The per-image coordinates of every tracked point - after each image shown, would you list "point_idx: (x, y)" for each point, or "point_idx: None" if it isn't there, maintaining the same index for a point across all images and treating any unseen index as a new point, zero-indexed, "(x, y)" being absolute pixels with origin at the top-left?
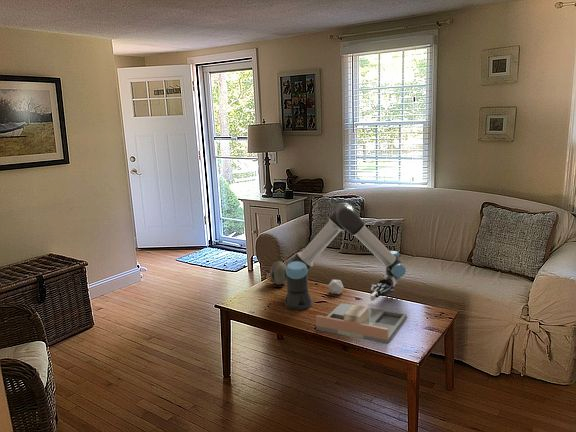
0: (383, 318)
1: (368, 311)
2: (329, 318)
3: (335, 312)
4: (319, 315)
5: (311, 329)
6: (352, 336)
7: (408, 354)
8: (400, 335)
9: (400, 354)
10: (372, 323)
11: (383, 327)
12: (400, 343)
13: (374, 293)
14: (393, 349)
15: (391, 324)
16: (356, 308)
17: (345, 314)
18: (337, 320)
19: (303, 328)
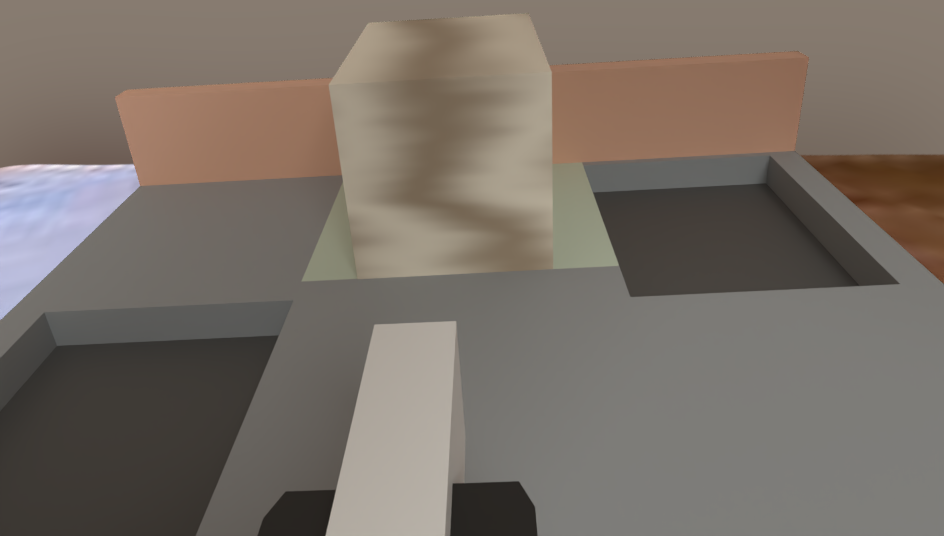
0: (193, 501)
1: (338, 134)
2: (660, 60)
3: (904, 308)
4: (781, 57)
5: None
6: None
7: (21, 186)
8: (18, 302)
9: (77, 175)
10: (313, 277)
11: (157, 94)
12: (49, 235)
13: (388, 461)
14: (119, 189)
15: (80, 403)
16: (465, 54)
17: (510, 14)
18: (577, 65)
19: (878, 160)
